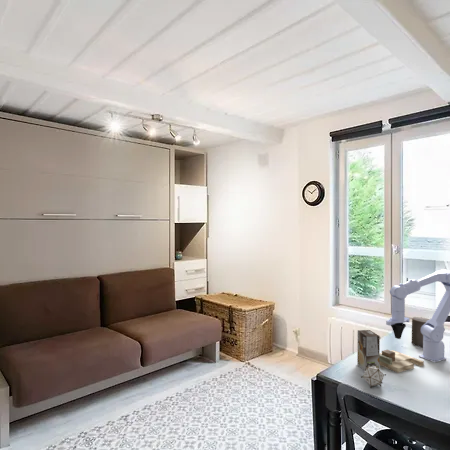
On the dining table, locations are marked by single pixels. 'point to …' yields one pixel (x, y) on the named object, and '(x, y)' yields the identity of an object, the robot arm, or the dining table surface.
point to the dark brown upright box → (417, 330)
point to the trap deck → (399, 362)
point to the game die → (373, 376)
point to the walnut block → (389, 354)
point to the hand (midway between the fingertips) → (397, 338)
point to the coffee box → (368, 349)
